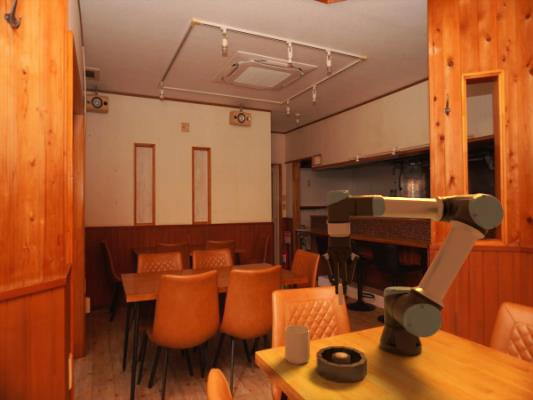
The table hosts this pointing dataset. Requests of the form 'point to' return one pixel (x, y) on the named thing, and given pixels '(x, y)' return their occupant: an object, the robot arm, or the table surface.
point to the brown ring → (341, 372)
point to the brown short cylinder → (341, 358)
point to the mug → (297, 344)
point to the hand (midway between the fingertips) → (341, 303)
